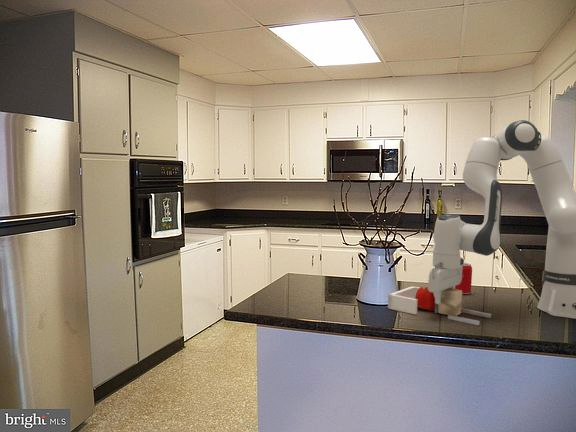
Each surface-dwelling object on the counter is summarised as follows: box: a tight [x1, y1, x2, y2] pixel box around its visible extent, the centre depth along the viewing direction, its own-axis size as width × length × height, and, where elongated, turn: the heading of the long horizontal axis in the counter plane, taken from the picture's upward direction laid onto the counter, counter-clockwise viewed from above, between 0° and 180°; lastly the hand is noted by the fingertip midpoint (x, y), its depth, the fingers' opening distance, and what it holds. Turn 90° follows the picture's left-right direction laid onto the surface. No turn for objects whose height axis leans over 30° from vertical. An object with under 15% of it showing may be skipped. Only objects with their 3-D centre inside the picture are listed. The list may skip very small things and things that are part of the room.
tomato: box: [415, 286, 435, 312], centre depth 170 cm, size 9×9×8 cm
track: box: [447, 307, 492, 326], centre depth 160 cm, size 10×12×1 cm
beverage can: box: [455, 262, 473, 295], centre depth 194 cm, size 6×6×12 cm
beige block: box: [434, 288, 463, 316], centre depth 164 cm, size 7×7×8 cm
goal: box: [387, 286, 421, 315], centre depth 173 cm, size 10×18×5 cm, turn 139°
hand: (444, 301), depth 165 cm, fingers open, 8 cm apart
